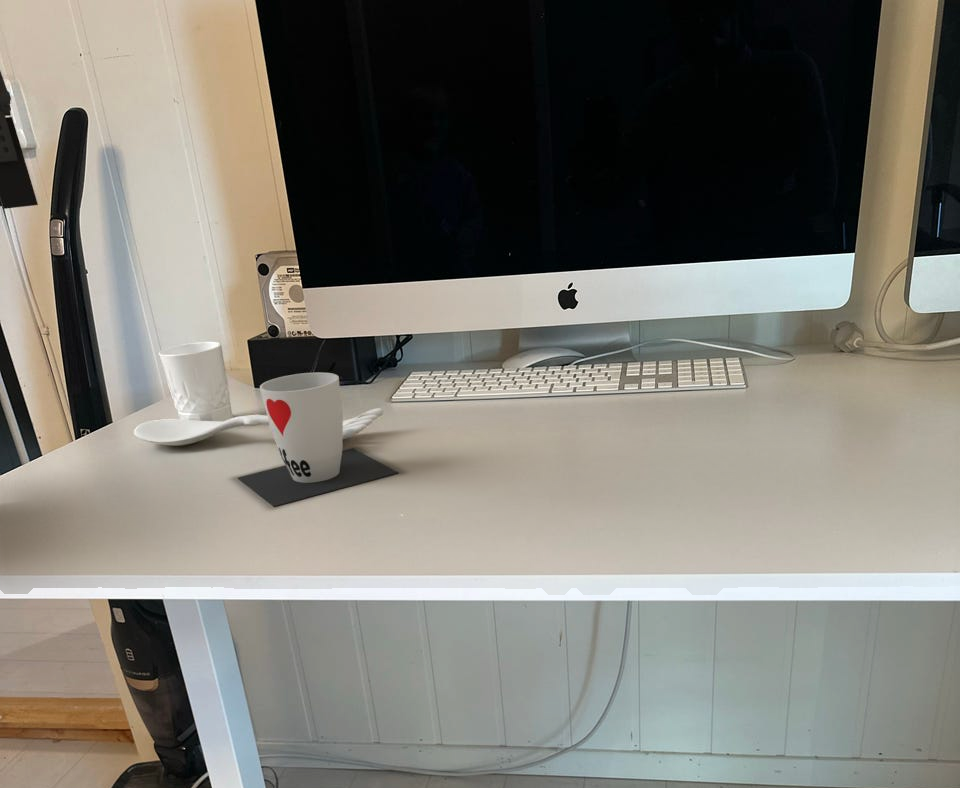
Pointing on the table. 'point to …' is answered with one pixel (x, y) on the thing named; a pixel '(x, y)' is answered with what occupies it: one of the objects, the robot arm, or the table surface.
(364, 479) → the mat
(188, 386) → the white cup
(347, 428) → the spoon
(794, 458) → the table surface
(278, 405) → the cup
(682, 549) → the table surface
